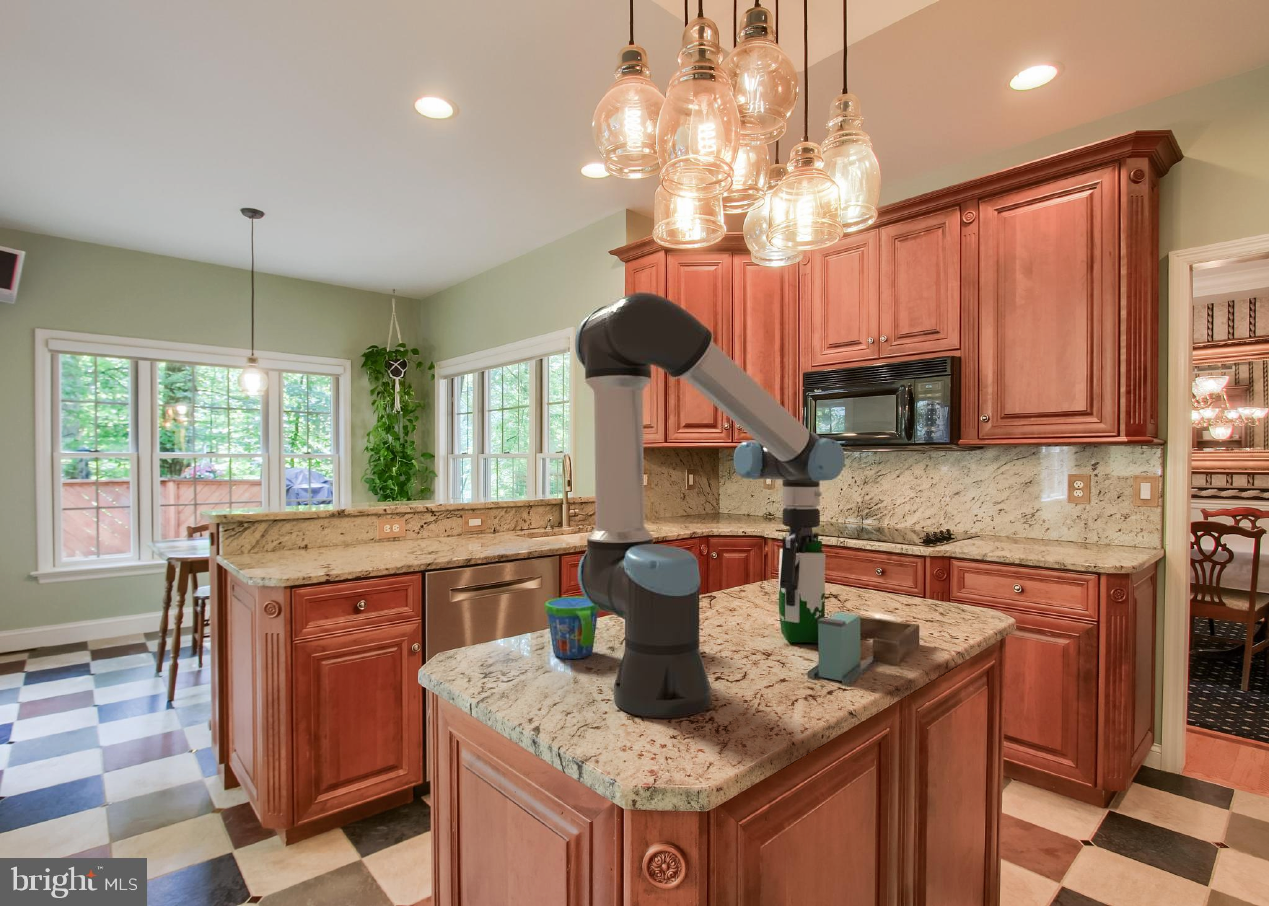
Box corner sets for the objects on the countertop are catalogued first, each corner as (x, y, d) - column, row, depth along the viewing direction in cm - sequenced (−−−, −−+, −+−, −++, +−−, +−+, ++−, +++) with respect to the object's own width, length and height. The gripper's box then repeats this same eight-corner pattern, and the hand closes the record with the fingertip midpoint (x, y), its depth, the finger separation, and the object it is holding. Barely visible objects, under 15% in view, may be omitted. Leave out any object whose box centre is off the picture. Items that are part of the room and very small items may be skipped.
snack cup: (537, 646, 128) (537, 595, 128) (587, 640, 131) (587, 591, 131) (555, 670, 113) (555, 613, 113) (611, 663, 117) (611, 608, 117)
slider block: (818, 676, 108) (817, 619, 109) (838, 661, 116) (837, 608, 117) (842, 681, 106) (841, 623, 106) (860, 665, 114) (860, 612, 114)
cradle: (820, 651, 123) (820, 630, 123) (848, 633, 136) (847, 614, 137) (897, 665, 115) (897, 643, 115) (919, 644, 128) (919, 624, 128)
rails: (807, 677, 109) (807, 671, 109) (837, 655, 121) (837, 650, 121) (849, 686, 104) (849, 680, 104) (876, 663, 116) (876, 657, 116)
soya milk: (829, 644, 126) (829, 544, 127) (783, 643, 127) (783, 543, 127) (818, 632, 135) (818, 538, 136) (775, 631, 136) (775, 538, 136)
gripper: (798, 510, 121) (798, 630, 120) (836, 505, 137) (836, 610, 137) (762, 509, 125) (761, 624, 125) (803, 504, 142) (803, 605, 142)
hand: (800, 617), depth 131 cm, fingers closed on soya milk, 8 cm apart
